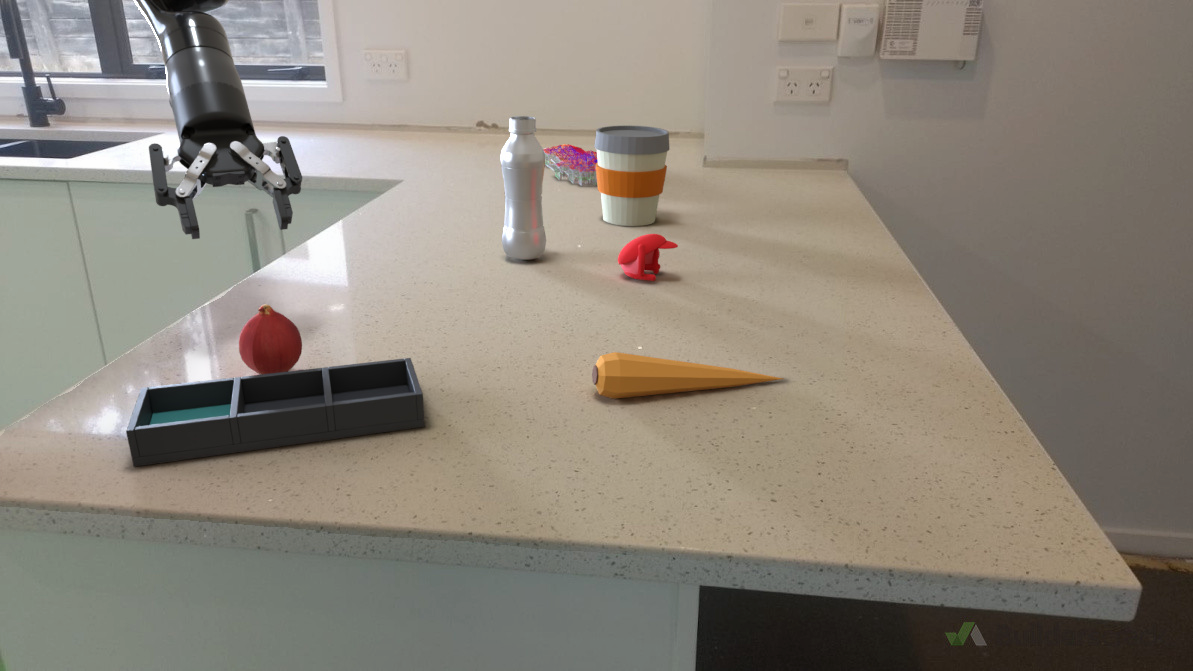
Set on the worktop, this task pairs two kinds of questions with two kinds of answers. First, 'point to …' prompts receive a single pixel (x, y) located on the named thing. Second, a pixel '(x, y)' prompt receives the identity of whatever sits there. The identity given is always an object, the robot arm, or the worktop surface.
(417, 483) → the worktop surface
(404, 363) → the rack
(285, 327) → the onion
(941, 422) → the worktop surface
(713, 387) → the carrot
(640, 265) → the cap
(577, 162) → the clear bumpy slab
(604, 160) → the reusable coffee cup
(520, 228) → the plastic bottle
